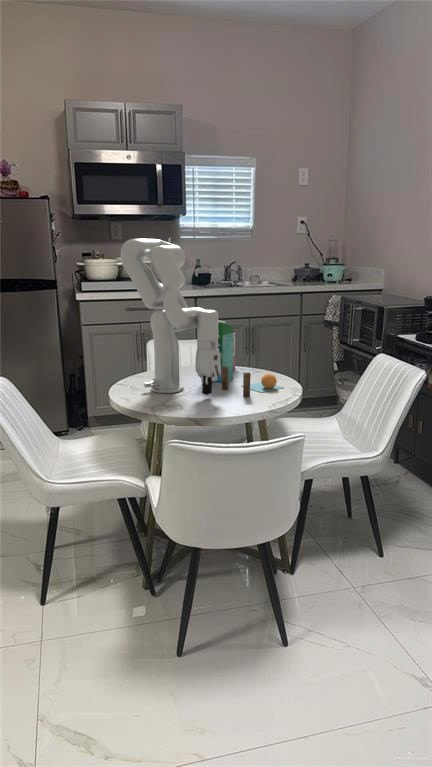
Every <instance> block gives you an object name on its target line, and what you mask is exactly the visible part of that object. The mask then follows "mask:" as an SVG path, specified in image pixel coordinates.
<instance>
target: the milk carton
mask: <svg viewBox="0 0 432 767" xmlns="http://www.w3.org/2000/svg"><path fill="white" fill-rule="evenodd" d="M233 333H234V325H233V324H229V323H226V320H219V319H218V349H219V352H220V361H221V375H220V376H217V381H213V383H220V384H222V366H228V381H230V380H232V379H234V370H233Z"/></svg>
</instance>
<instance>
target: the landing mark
mask: <svg viewBox="0 0 432 767" xmlns="http://www.w3.org/2000/svg"><path fill="white" fill-rule="evenodd" d="M241 388H243V385H241ZM281 389H285V387H284V386H281V385H277V384H276V385H275V387H273V388H271V389H267V388H265V387H263V385H262V383H261V381H260V382H256V383H250V391H251V390H252V391H255V392H258V393H267V392H271V391H276V390H281Z"/></svg>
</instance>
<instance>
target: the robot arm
mask: <svg viewBox="0 0 432 767" xmlns="http://www.w3.org/2000/svg"><path fill="white" fill-rule="evenodd" d="M120 261H121V264H122V267H123V269H124V270H125V272H126V274H128V276H129V278H130V279H131V281H132V283H133V285H134V287H135V289H136V290H137V293H138V294H139V297H140V298H141V300H142V303H143V304H144V306H145V307H146V308H147V309H151V310H155V311H153V313H152V315H151V316H150V326H151V331H152V332H151V333H152V337H153V338H152V339H153V351H154V352H153V356H154V360H153V361H154V378H152V380H151V381H148V382H144V383H143V388H145V389H147V388H150V390H151V391H152V392H154V393H157V394H158V393H159V394H175V393H178V392H182V391H183V390H184V385H183V384H181V383H180V345H179V341H178V338H177V336H176V334H175V333H177V332H178V333H179V332H183V331H187V330H191V329H196V330H197V331H196V332H197V333H196V352H195V367H194V368H195V372H196V374H197V376H198V377H199V378H200V381H201V384H202V392H201V393H202V394H203V395H206V396H207V395H212V393H213V383H214V382H213V381H217V376H220V375H221V361H220V352H219V349H218V320H219V312H218V311H217V310H215V309H205V308H202V307H198V306H197V307H196V306H195V307H194V306H193V307H189V306H188V304H187V302H186V301H185V298H184V297H183V295H182V292H181V291H180V289H181V288H182V287H183V286H184V285H185V283H186V278H185V276H184V274H183V272H182V270H181V267H183V266H184V264H185V263H186V254H185V251H184V250H183V249H182V247H180V246H179V245H177V244H174V243H171V242H168V241H165V240H162V239H157V238H132V239H128V240H126V241H125V242H124V243H123V244H122V246H121V250H120ZM144 262H150V263H151V265H152V266H153V267H152V268H154V271H155V272H156V274H157V277H158V279H159V280H160V282H159V281H158V280H157V278H156V275H155V274H154V272H153V271H152V269H151V268H150V267H149V266H147V264H145V263H144Z"/></svg>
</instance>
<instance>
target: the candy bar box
mask: <svg viewBox="0 0 432 767" xmlns="http://www.w3.org/2000/svg"><path fill="white" fill-rule="evenodd" d="M235 369H236V333H235V332H233V371H234V370H235Z"/></svg>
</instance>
